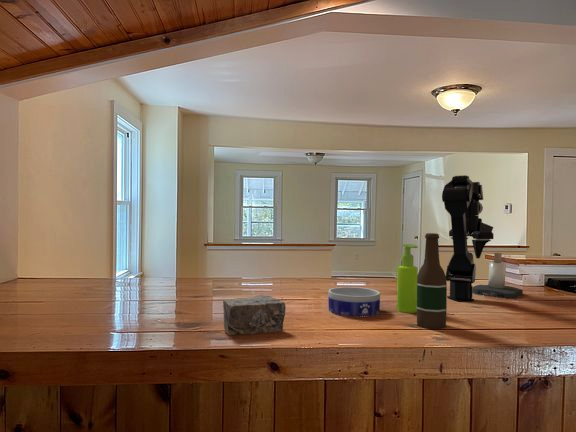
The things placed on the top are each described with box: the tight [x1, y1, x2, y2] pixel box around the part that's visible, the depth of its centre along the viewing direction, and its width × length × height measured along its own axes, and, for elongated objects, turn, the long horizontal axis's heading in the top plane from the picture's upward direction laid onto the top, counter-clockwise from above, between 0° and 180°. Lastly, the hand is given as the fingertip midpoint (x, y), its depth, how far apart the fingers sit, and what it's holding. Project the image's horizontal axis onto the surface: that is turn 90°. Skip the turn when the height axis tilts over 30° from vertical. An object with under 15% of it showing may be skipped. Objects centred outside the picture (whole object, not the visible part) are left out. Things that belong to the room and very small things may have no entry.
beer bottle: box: [416, 232, 448, 330], centre depth 106 cm, size 8×8×24 cm
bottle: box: [487, 252, 507, 288], centre depth 149 cm, size 5×5×12 cm
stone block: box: [222, 294, 286, 336], centre depth 101 cm, size 14×9×8 cm, turn 116°
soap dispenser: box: [396, 243, 419, 314], centre depth 122 cm, size 6×7×20 cm
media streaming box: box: [472, 284, 524, 300], centre depth 150 cm, size 15×15×3 cm
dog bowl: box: [327, 286, 381, 318], centre depth 122 cm, size 15×15×6 cm
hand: (469, 257), depth 154 cm, fingers open, 9 cm apart
